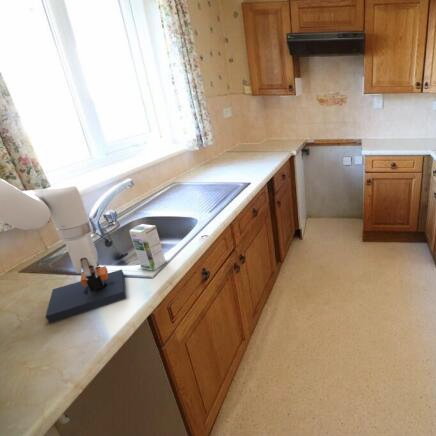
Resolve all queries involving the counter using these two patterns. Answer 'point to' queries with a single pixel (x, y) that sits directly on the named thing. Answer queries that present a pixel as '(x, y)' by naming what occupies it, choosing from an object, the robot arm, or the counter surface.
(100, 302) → the base pad
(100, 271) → the top pad
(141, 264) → the syrup box
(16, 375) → the counter surface
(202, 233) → the counter surface
